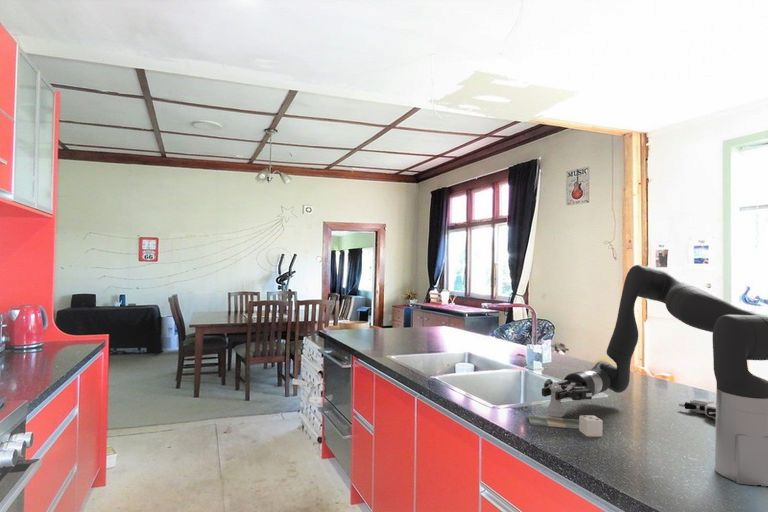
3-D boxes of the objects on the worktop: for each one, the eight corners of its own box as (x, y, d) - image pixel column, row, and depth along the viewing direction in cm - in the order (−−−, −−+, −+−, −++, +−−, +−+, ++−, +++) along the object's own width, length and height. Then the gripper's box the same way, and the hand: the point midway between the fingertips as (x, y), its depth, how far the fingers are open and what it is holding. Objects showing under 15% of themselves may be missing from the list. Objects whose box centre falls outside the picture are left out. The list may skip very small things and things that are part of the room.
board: (602, 431, 120) (602, 428, 120) (530, 424, 124) (530, 422, 124) (596, 423, 126) (596, 421, 126) (527, 417, 129) (527, 415, 129)
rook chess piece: (565, 418, 123) (566, 388, 123) (547, 416, 124) (548, 386, 124) (562, 412, 127) (563, 383, 127) (545, 411, 128) (546, 382, 128)
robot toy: (675, 413, 140) (725, 427, 126) (675, 398, 140) (724, 410, 126) (705, 411, 144) (757, 423, 130) (705, 396, 144) (756, 407, 130)
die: (602, 436, 116) (602, 420, 116) (586, 436, 116) (587, 420, 116) (594, 431, 120) (594, 415, 120) (579, 430, 120) (579, 415, 120)
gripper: (560, 366, 140) (527, 374, 129) (607, 376, 129) (575, 386, 118) (560, 391, 140) (526, 401, 129) (607, 403, 129) (574, 415, 118)
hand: (550, 394), depth 124 cm, fingers closed on rook chess piece, 3 cm apart
